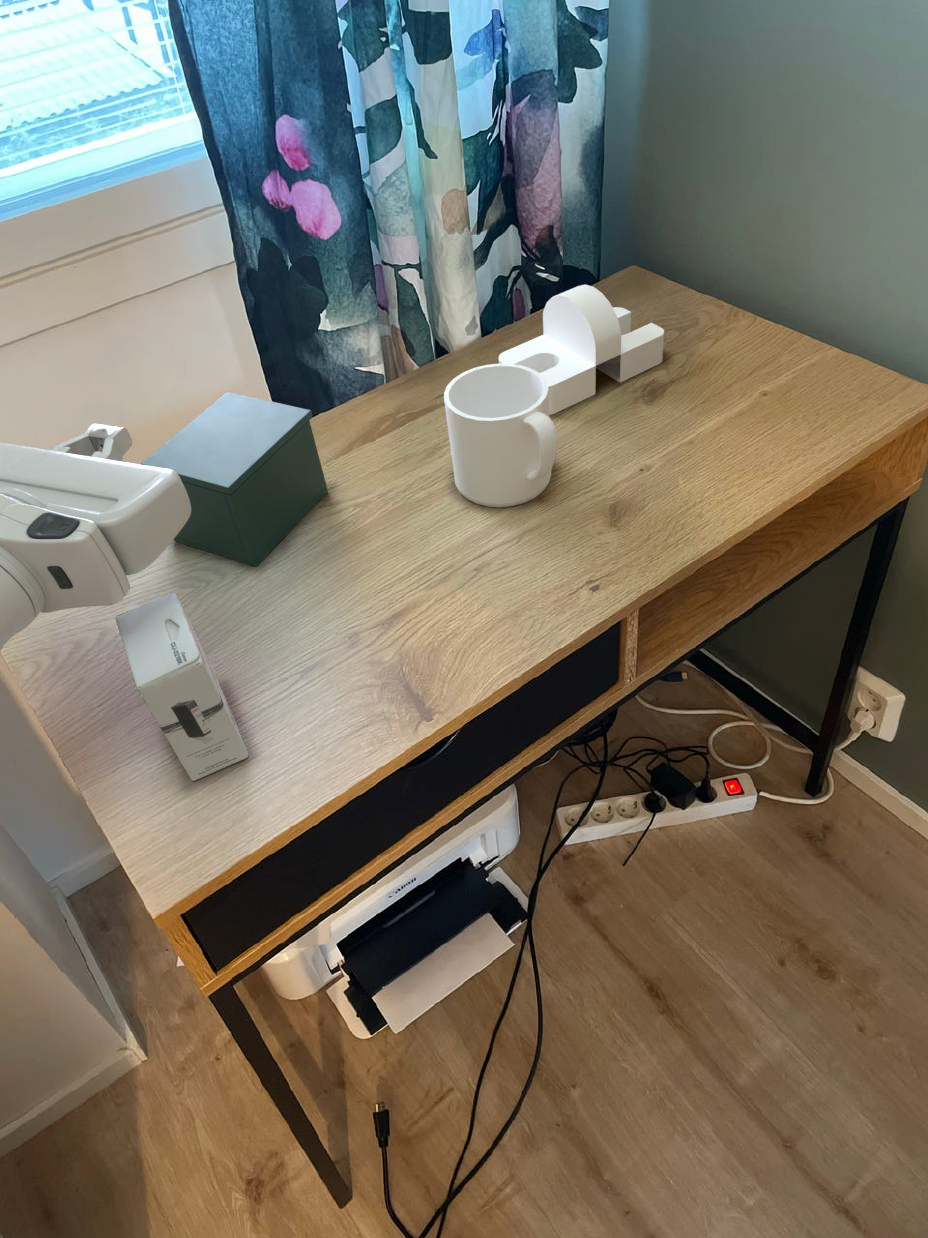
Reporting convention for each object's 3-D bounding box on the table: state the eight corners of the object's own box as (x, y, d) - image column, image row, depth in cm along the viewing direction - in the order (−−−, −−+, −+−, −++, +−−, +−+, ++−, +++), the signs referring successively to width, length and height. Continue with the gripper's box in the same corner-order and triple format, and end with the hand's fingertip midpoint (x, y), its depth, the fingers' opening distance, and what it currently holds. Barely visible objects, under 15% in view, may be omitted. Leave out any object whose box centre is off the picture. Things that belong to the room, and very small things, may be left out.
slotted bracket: (614, 330, 111) (615, 252, 104) (667, 359, 105) (672, 279, 98) (495, 383, 106) (488, 305, 99) (544, 418, 100) (541, 336, 93)
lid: (229, 397, 92) (227, 391, 92) (313, 416, 88) (311, 409, 88) (143, 470, 85) (140, 463, 84) (230, 495, 81) (228, 487, 80)
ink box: (165, 710, 75) (111, 612, 67) (222, 687, 76) (176, 587, 68) (190, 785, 70) (135, 688, 61) (251, 758, 71) (204, 659, 62)
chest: (248, 470, 98) (225, 400, 92) (328, 491, 94) (309, 420, 88) (174, 541, 91) (143, 471, 85) (256, 567, 87) (230, 495, 81)
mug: (435, 479, 94) (422, 393, 86) (506, 438, 98) (500, 352, 90) (516, 533, 86) (509, 444, 79) (589, 486, 90) (589, 397, 83)
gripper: (-84, 559, 68) (29, 447, 76) (139, 608, 62) (236, 480, 70) (-135, 496, 63) (-8, 384, 72) (102, 542, 57) (210, 413, 66)
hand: (114, 432), depth 71 cm, fingers closed
